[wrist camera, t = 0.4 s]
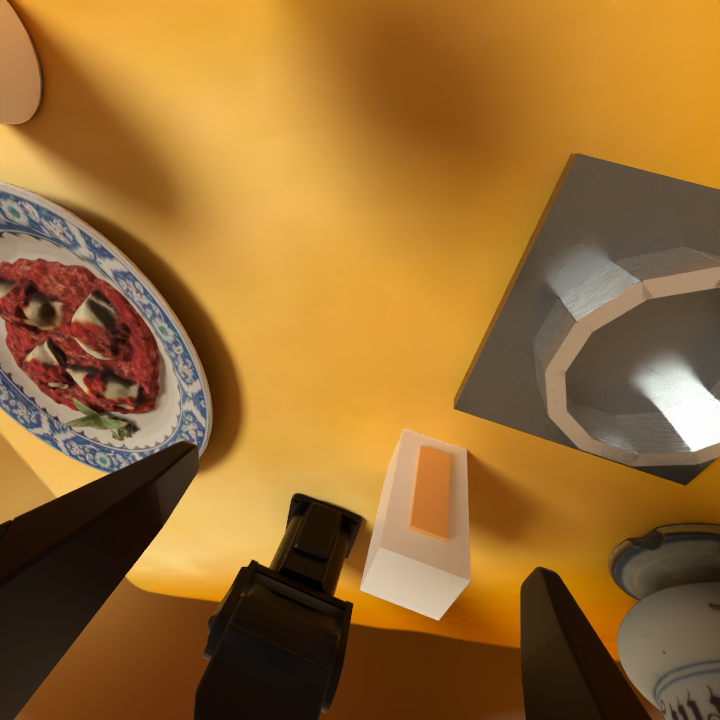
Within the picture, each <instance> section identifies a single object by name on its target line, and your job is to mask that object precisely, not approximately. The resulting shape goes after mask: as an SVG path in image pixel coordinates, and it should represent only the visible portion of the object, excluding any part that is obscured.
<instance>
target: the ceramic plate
mask: <svg viewBox="0 0 720 720" xmlns="http://www.w3.org/2000/svg"><path fill="white" fill-rule="evenodd" d="M0 409H1V410H3V411H4V412H5V413H6V414H7V415H8V416H10V417H11V418H12V419H13V420H14V421H15V422H17V423H18V424H19V425H20V426H21V427H23V428H24V429H26V430H27V431H28V432H30V433H31V434H32V435H34V436H35V437H37V438H38V439H40V440H41V441H43V442H44V443H46V444H47V445H49V446H50V447H52V448H53V449H55V450H57V451H59V452H61V453H62V454H64V455H66V456H68V457H69V458H71V459H73V460H76V461H78V462H80V463H82V464H84V465H86V466H89V467H91V468H94V469H96V470H99V471H101V472H105V473H109V474H110V473H113V472H115V471H117V470H119V469H121V468H123V467H126V466H128V465H130V464H132V463H134V462H136V461H139V460H141V459H143V458H145V457H147V456H149V455H152V454H154V453H156V452H158V451H160V450H162V449H164V448H167V447H169V446H171V445H173V444H175V443H177V442H180V441H188V442H191V443H194V444H196V445H197V446H198V448H199V458H200V457H201V455H202V454H203V452H204V451H205V449H206V447H207V444H208V441H209V438H210V434H211V430H212V422H213V412H212V401H211V394H210V390H209V386H208V381H207V378H206V375H205V372H204V369H203V366H202V364H201V361H200V359H199V357H198V354H197V352H196V350H195V348H194V346H193V344H192V342H191V340H190V338H189V336H188V334H187V332H186V331H185V329H184V327H183V326H182V324H181V322H180V321H179V319H178V318H177V316H176V314H175V313H174V312H173V310H172V309H171V307H170V306H169V305H168V303H167V302H166V300H165V299H164V298H163V296H162V295H161V294H160V293H159V291H158V290H157V289H156V288H155V286H154V285H153V284H152V283H151V281H150V280H149V279H148V278H147V277H146V276H145V275H144V274H143V273H142V272H141V270H140V269H139V268H138V267H137V266H136V265H135V264H134V263H133V262H132V261H131V260H130V259H129V258H128V257H127V256H126V255H125V254H124V253H123V252H122V251H121V250H120V249H118V248H117V247H116V246H115V245H114V244H113V243H111V242H110V241H109V240H108V239H107V238H106V237H104V236H103V235H102V234H101V233H100V232H98V231H97V230H96V229H94V228H93V227H91V226H90V225H89V224H87V223H86V222H84V221H83V220H82V219H80V218H79V217H78V216H76V215H75V214H73V213H72V212H70V211H68V210H67V209H65V208H63V207H61V206H59V205H58V204H56V203H54V202H52V201H50V200H48V199H47V198H45V197H43V196H41V195H39V194H36V193H34V192H32V191H29V190H27V189H25V188H22V187H19V186H16V185H12V184H9V183H6V182H2V181H0Z"/></svg>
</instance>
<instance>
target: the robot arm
mask: <svg viewBox="0 0 720 720" xmlns="http://www.w3.org/2000/svg"><path fill="white" fill-rule="evenodd" d="M198 469H199V448H198V446H197V445H196V444H194V443H191V442H188V441H180V442H177V443H175V444H173V445H171V446H169V447H167V448H164V449H162V450H160V451H158V452H156V453H154V454H152V455H149V456H147V457H145V458H143V459H141V460H139V461H136V462H134V463H132V464H130V465H128V466H126V467H123V468H121V469H119V470H117V471H115V472H113V473H110V474H108V475H106V476H104V477H102V478H100V479H98V480H95V481H93V482H91V483H89V484H87V485H85V486H82V487H80V488H78V489H76V490H74V491H72V492H69V493H67V494H65V495H63V496H61V497H59V498H56V499H55V500H52V501H50V502H48V503H46V504H44V505H41V506H39V507H37V508H35V509H33V510H31V511H29V512H26V513H24V514H22V515H20V516H18V517H15V518H14V519H13V521H12V520H9V521H7V522H4V523H2V524H0V720H14V719H15V717H16V716H17V715H18V713H19V712H20V711H21V709H22V708H23V707H24V706H25V704H26V703H27V702H28V701H29V699H30V698H31V696H32V695H33V694H34V692H35V691H36V690H37V689H38V688H39V686H40V685H41V684H42V682H43V681H44V680H45V679H46V677H47V676H48V675H49V673H50V672H51V671H52V670H53V668H54V667H55V666H56V664H57V663H58V662H59V661H60V659H61V658H62V657H63V655H64V654H65V653H66V652H67V650H68V649H69V648H70V646H71V645H72V644H73V642H74V641H75V640H76V638H77V637H78V636H79V635H80V633H81V632H82V631H83V629H84V628H85V627H86V626H87V624H88V623H89V622H90V621H91V619H92V618H93V617H94V615H95V614H96V613H97V611H98V610H99V609H100V608H101V606H102V605H103V604H104V602H105V601H106V600H107V598H108V597H109V596H110V595H111V593H112V592H113V591H114V590H115V588H116V587H117V586H118V584H119V583H120V582H121V581H122V579H123V578H124V577H125V575H126V574H127V573H128V572H129V570H130V569H131V568H132V566H133V565H134V564H135V563H136V561H137V560H138V559H139V557H140V556H141V555H142V554H143V552H144V551H145V550H146V548H147V547H148V546H149V544H150V543H151V542H152V541H153V539H154V538H155V537H156V535H157V534H158V533H159V531H160V530H161V529H162V527H163V526H164V524H165V523H166V521H167V520H168V518H169V517H170V515H171V514H172V512H173V510H174V509H175V507H176V506H177V504H178V502H179V501H180V499H181V498H182V496H183V495H184V493H185V491H186V490H187V488H188V487H189V485H190V483H191V482H192V480H193V479H194V477H195V475H196V474H197V472H198ZM361 521H362V520H361V518H360V517H359V516H356V515H354V514H351V513H348V512H346V511H343V510H340V509H338V508H335V507H332V506H329V505H327V504H324V503H321V502H319V501H316V500H313V499H310V498H308V497H305V496H302V495H300V494H294V495H293V497H292V499H291V504H290V510H289V515H288V520H287V526H286V531H285V534H284V536H283V539H282V541H281V543H280V545H279V547H278V549H277V552H276V554H275V556H274V558H273V560H272V562H271V565H270V567H269V568H267V567H265V566H263V565H261V564H258V562H257V561H255V560H253V559H252V561H251V562H250V564H249V566H248V567H241V569H240V571H239V573H238V575H237V577H236V578H235V580H234V582H233V584H232V586H231V587H230V589H229V591H228V592H227V594H226V595H225V597H224V598H223V600H222V601H221V602H220V604H219V605H218V607H217V608H216V610H215V611H214V613H213V614H212V616H211V618H210V620H209V621H208V624H207V627H208V632H209V637H208V640H207V646H206V648H205V651H204V654H203V657H204V658H206V659H208V660H210V662H209V664H208V666H207V668H206V670H205V672H204V675H203V677H202V679H201V681H200V683H199V685H198V688H197V690H196V695H195V708H194V720H318V719H319V715H320V712H321V711H322V712H324V713H326V712H327V711H328V710H329V708H330V706H331V703H332V700H333V698H334V695H335V692H336V689H337V686H338V682H339V679H340V675H341V671H342V667H343V662H344V657H345V651H346V645H347V639H348V632H349V626H350V621H351V614H352V608H353V603H351V602H348V601H346V602H345V601H343V600H340V599H338V598H336V597H334V594H335V590H336V587H337V583H338V580H339V576H340V573H341V569H342V566H343V562H344V559H346V558H348V556H349V553H350V551H351V548H352V546H353V543H354V540H355V538H356V535H357V533H358V530H359V527H360V525H361ZM520 650H521V673H522V683H523V694H524V704H525V714H526V720H652V719H651V717H650V716H649V714H648V713H647V711H646V710H645V708H644V707H643V705H642V703H641V702H640V700H639V699H638V697H637V696H636V694H635V693H634V691H633V689H632V688H631V686H630V685H629V683H628V682H627V680H626V679H625V677H624V675H623V674H622V672H621V671H620V669H619V668H618V666H617V665H616V663H615V662H614V660H613V658H612V657H611V655H610V654H609V652H608V651H607V649H606V648H605V646H604V644H603V643H602V641H601V640H600V638H599V637H598V635H597V634H596V632H595V631H594V629H593V627H592V626H591V624H590V623H589V621H588V620H587V618H586V617H585V615H584V613H583V612H582V610H581V609H580V607H579V606H578V604H577V603H576V601H575V599H574V598H573V596H572V595H571V593H570V592H569V590H568V589H567V587H566V586H565V584H564V582H563V581H562V579H561V578H560V576H559V575H558V574H557V573H556V572H554V571H552V570H549V569H546V568H543V567H537V568H535V569H534V571H533V572H532V573H531V574H530V575H529V576H528V577H527V578H526V580H525V581H524V582H523V584H522V586H521V592H520Z"/></svg>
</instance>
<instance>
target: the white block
mask: <svg viewBox="0 0 720 720" xmlns="http://www.w3.org/2000/svg"><path fill="white" fill-rule="evenodd" d="M470 581H471V576H470V542H469V508H468V474H467V449H464V448H461V447H458V446H455V445H452V444H449V443H446V442H443V441H441V440H438V439H435V438H432V437H429V436H426V435H423V434H420V433H417V432H414V431H411V430H408V429H405V428H404V429H403V431H402V434H401V436H400V439H399V441H398V444H397V446H396V449H395V451H394V454H393V456H392V459H391V461H390V464H389V466H388V469H387V472H386V477H385V481H384V485H383V490H382V494H381V499H380V503H379V507H378V512H377V516H376V520H375V525H374V529H373V533H372V538H371V542H370V547H369V551H368V555H367V560H366V564H365V568H364V573H363V577H362V581H361V586H360V590H361V591H363V592H366V593H368V594H371V595H374V596H376V597H379V598H381V599H384V600H386V601H389V602H392V603H394V604H397V605H399V606H402V607H404V608H407V609H410V610H412V611H415V612H417V613H420V614H422V615H425V616H428V617H430V618H433V619H435V620H438V621H439V619H440V618H441V617H442V616H443V614H444V613H445V612H446V611H447V610H448V608H449V607H450V606H451V605H452V603H453V602H454V601H455V600H456V598H457V597H458V596H459V595H460V593H461V592H462V591H463V590H464V589H465V587H466V586H467V585H468V584H469V582H470Z"/></svg>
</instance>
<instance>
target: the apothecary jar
mask: <svg viewBox="0 0 720 720" xmlns="http://www.w3.org/2000/svg"><path fill="white" fill-rule="evenodd" d="M608 567H609V572H610V575H611V577H612V579H613V580H614V582H615V583H616V584H617V585H618V586H619V587H620V588H621V589H622V590H623V591H624V592H625V593H627V594H628V595H630V596H631V597H633V598H635V599H637V600H639V602H638V603H636V604H635V605H634V606H633V607H632V608H631V609H630V610H629V612H628V613H627V614H626V615H625V617H624V618H623V620H622V622H621V624H620V627H619V630H618V635H617V648H618V654H619V658H620V661H621V664H622V666H623V668H624V670H625V672H626V674H627V675H628V677H629V679H630V680H631V681H632V683H633V684H634V685H635V687H636V688H637V689H638V690H639V691H640V692H641V693H642V694H643V695H644V696H645V697H646V698H647V699H648V700H649V701H650V702H651V703H652V704H653V705H654V706H655V707H657V708H658V709H659V710H660V711H661V712H662V714H663V717H664V719H665V720H720V525H710V524H678V525H669V526H663V527H659V528H655V529H654V530H653V531H652V532H650V533H649V534H648V535H646V536H645V537H643V538H638V539H627V540H625V541H624V542H622V543H621V544H620V545H618V546H617V547H616V548H615V549H614V551H613V552H612V553H611V555H610V558H609V563H608Z"/></svg>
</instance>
